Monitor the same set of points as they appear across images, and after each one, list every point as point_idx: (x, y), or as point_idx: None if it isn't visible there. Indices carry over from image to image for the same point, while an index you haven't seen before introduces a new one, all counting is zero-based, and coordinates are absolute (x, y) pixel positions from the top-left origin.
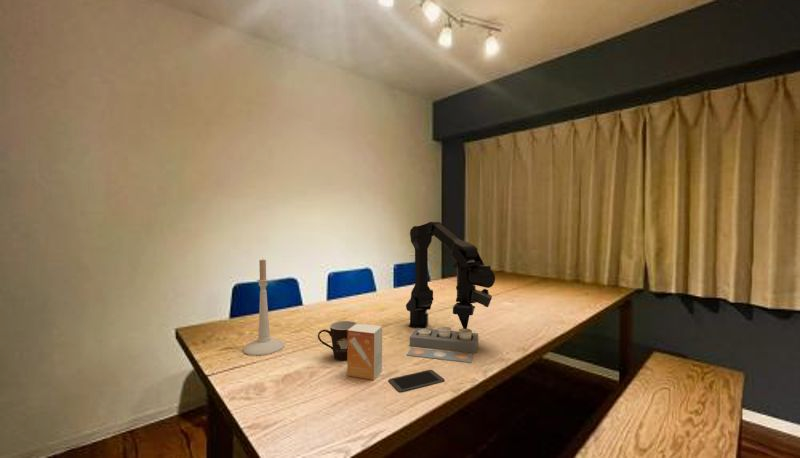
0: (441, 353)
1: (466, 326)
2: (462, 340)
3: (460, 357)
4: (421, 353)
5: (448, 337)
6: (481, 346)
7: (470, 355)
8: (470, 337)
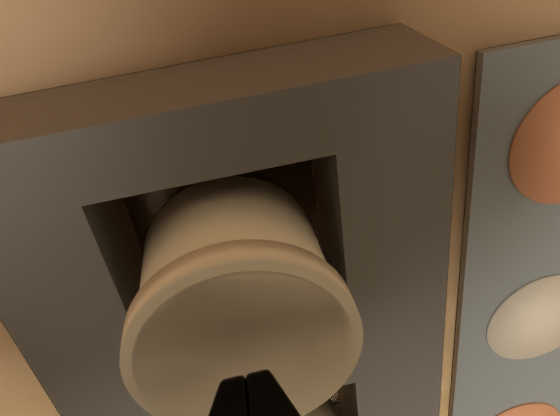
0: (527, 314)
1: (296, 412)
2: (376, 266)
3: None
4: (544, 409)
5: (314, 409)
6: (121, 11)
7: (528, 68)
8: (263, 211)
